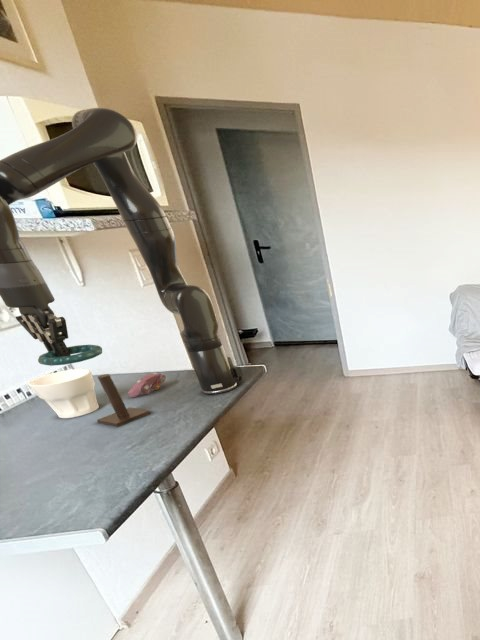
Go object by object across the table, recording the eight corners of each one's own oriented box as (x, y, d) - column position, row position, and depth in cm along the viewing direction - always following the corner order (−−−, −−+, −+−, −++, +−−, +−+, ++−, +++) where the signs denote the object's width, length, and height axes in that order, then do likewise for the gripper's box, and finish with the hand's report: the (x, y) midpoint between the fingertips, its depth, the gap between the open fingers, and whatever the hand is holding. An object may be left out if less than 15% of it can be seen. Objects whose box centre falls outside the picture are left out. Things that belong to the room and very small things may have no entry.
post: (131, 410, 121) (111, 369, 115) (150, 413, 119) (130, 371, 113) (98, 422, 114) (75, 379, 109) (117, 426, 112) (95, 383, 106)
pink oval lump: (141, 402, 129) (143, 384, 126) (126, 396, 128) (127, 378, 126) (167, 389, 138) (169, 372, 135) (153, 384, 137) (154, 366, 135)
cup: (94, 417, 117) (75, 381, 113) (37, 425, 113) (14, 388, 109) (116, 399, 128) (99, 366, 123) (64, 406, 124) (45, 372, 119)
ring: (85, 349, 104) (81, 342, 103) (114, 352, 101) (111, 345, 101) (29, 364, 95) (25, 356, 94) (59, 368, 92) (55, 361, 92)
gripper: (61, 281, 93) (99, 353, 101) (23, 279, 97) (62, 349, 105) (16, 287, 87) (60, 364, 94) (-23, 285, 90) (22, 359, 98)
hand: (61, 356), depth 99 cm, fingers closed on ring, 2 cm apart
